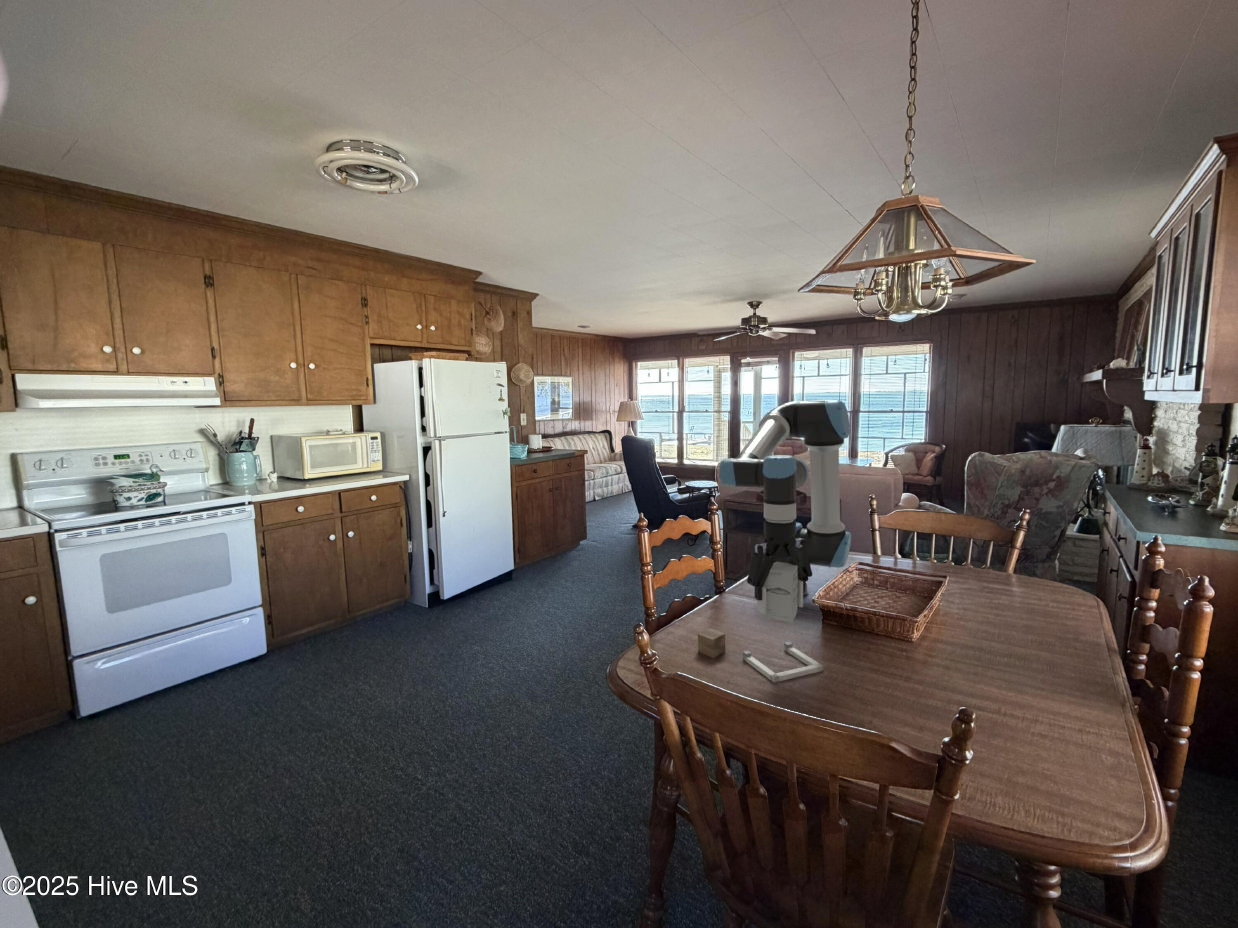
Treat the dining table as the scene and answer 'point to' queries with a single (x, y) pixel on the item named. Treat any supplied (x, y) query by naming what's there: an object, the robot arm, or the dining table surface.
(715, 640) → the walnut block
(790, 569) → the supplement box
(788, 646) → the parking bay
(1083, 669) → the dining table surface
